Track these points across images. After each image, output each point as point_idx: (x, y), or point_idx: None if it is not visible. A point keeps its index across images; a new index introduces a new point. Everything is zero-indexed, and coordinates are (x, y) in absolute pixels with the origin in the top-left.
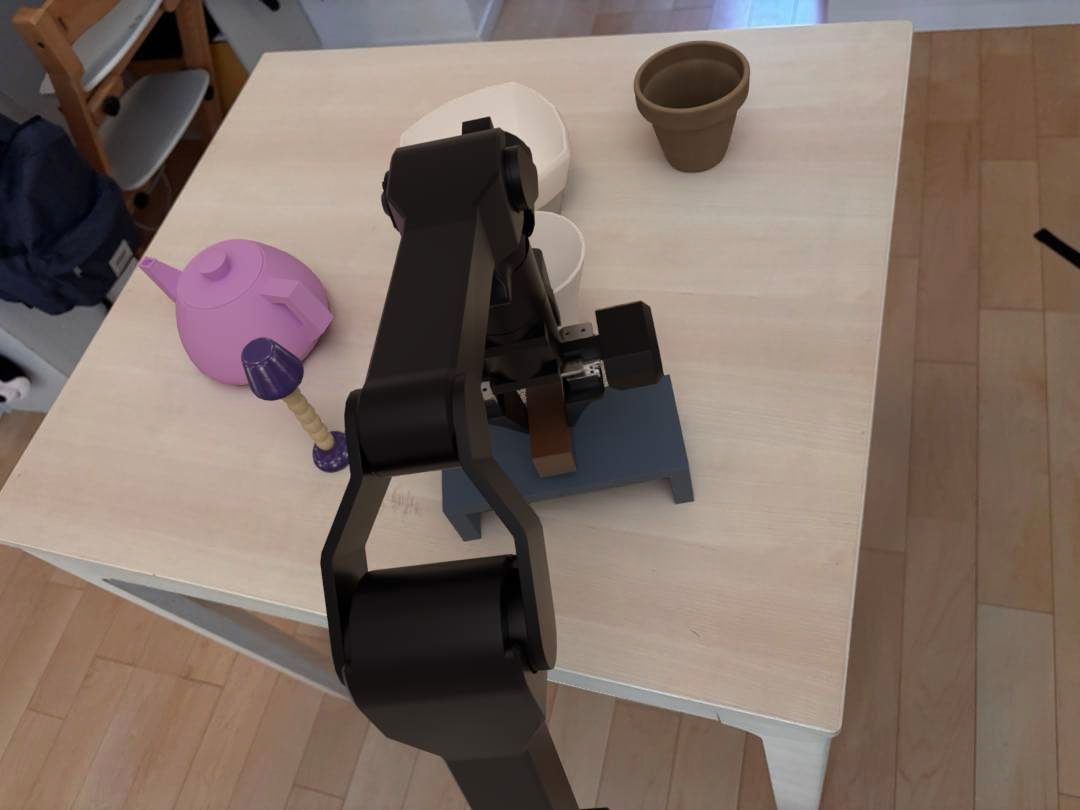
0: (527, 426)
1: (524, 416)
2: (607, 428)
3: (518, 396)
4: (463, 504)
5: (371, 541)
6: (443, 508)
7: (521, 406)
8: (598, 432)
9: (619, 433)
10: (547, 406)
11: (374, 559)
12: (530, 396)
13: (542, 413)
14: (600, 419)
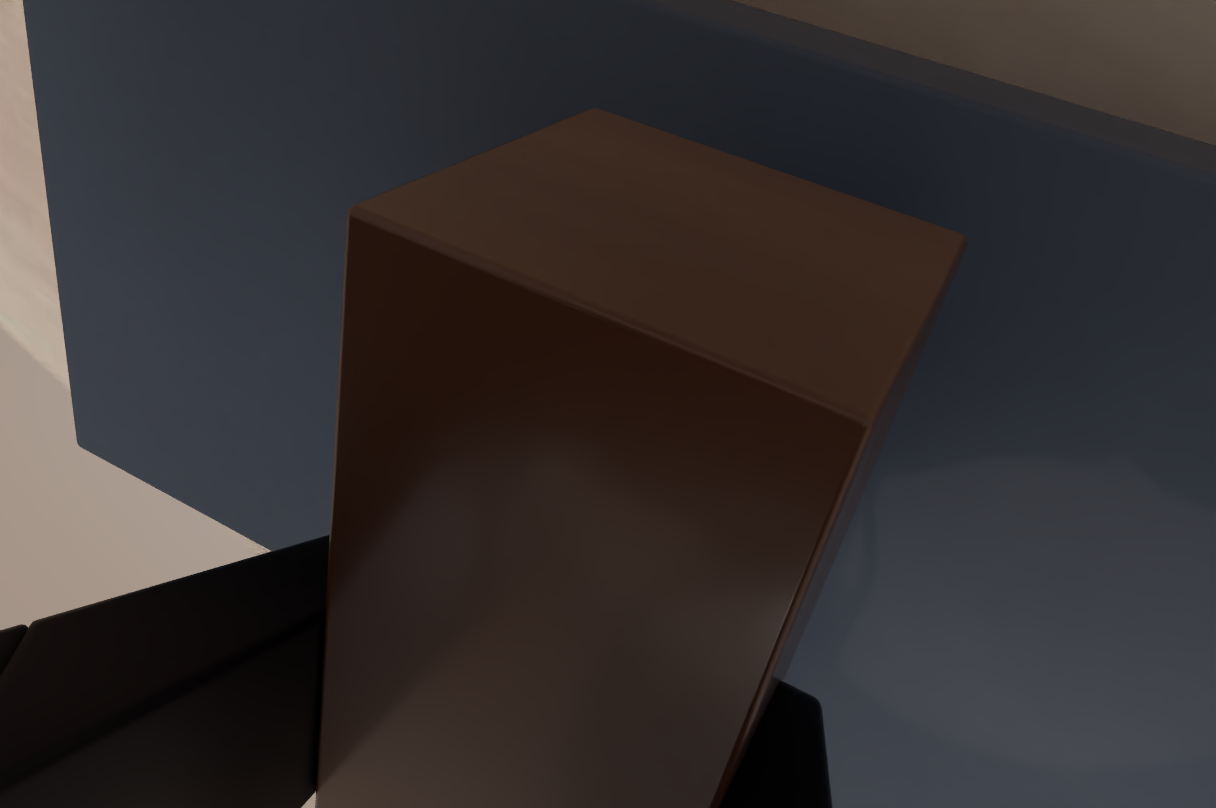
0: (296, 798)
1: (239, 799)
2: (1126, 638)
3: (92, 785)
4: (159, 476)
5: (24, 113)
6: (79, 435)
7: (170, 800)
8: (1034, 616)
9: (1189, 730)
10: (514, 763)
11: (44, 192)
12: (376, 543)
13: (448, 787)
14: (1125, 541)
